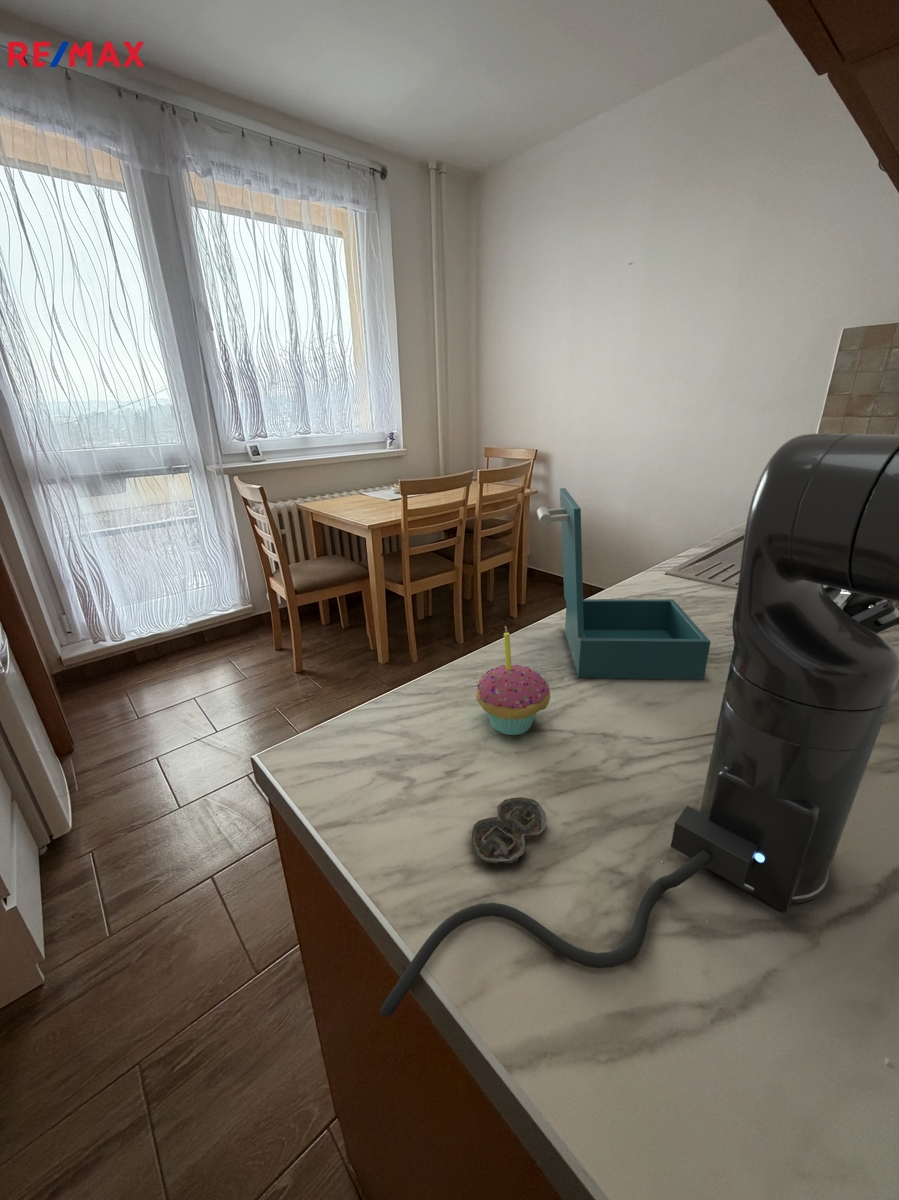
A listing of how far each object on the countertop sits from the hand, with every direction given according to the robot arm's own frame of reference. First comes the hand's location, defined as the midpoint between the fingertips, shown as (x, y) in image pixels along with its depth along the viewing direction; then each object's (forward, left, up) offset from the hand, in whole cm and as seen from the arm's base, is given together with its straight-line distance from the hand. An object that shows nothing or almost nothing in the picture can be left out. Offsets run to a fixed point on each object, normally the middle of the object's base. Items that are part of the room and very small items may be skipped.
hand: (779, 641), depth 61 cm
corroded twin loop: (-42, +10, -6) cm, 44 cm away
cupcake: (-29, +20, -7) cm, 36 cm away
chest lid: (-9, +24, +9) cm, 27 cm away
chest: (-4, +18, -6) cm, 19 cm away
